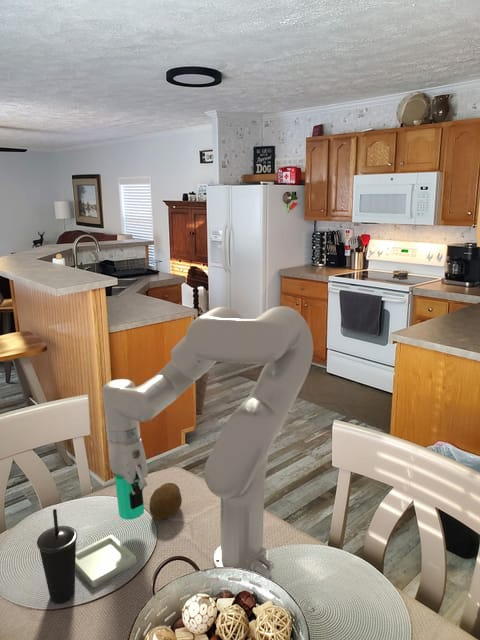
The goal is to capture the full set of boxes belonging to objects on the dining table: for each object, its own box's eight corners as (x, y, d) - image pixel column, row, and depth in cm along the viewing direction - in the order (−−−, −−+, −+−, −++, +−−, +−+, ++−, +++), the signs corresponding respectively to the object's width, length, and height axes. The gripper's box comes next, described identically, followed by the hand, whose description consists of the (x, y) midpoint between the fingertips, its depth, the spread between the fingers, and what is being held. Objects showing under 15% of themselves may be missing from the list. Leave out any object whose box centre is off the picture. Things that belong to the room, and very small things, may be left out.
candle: (138, 520, 120) (133, 474, 117) (114, 518, 121) (109, 473, 119) (147, 505, 126) (143, 461, 123) (125, 504, 127) (120, 460, 124)
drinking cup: (60, 577, 110) (52, 495, 105) (89, 587, 108) (83, 503, 103) (34, 602, 103) (25, 516, 98) (65, 614, 101) (56, 526, 96)
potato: (185, 500, 138) (184, 474, 136) (178, 529, 126) (177, 502, 124) (155, 499, 138) (154, 474, 136) (145, 528, 126) (144, 501, 124)
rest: (136, 563, 114) (135, 556, 114) (93, 588, 107) (92, 580, 107) (111, 540, 122) (111, 534, 121) (70, 562, 115) (69, 555, 114)
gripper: (157, 437, 115) (164, 509, 119) (118, 417, 127) (125, 483, 132) (129, 449, 110) (136, 523, 114) (91, 427, 122) (99, 495, 127)
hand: (130, 501), depth 123 cm, fingers closed on candle, 4 cm apart
